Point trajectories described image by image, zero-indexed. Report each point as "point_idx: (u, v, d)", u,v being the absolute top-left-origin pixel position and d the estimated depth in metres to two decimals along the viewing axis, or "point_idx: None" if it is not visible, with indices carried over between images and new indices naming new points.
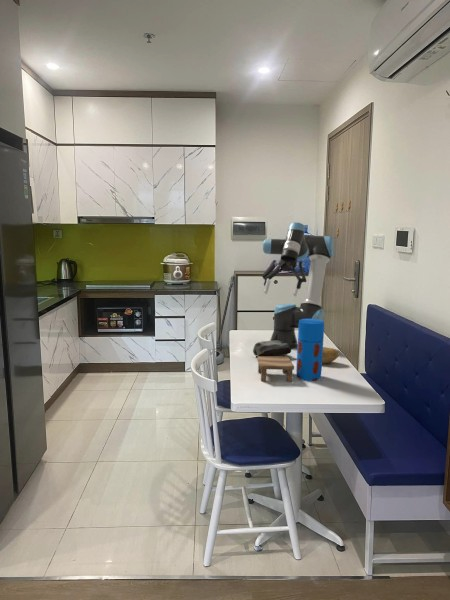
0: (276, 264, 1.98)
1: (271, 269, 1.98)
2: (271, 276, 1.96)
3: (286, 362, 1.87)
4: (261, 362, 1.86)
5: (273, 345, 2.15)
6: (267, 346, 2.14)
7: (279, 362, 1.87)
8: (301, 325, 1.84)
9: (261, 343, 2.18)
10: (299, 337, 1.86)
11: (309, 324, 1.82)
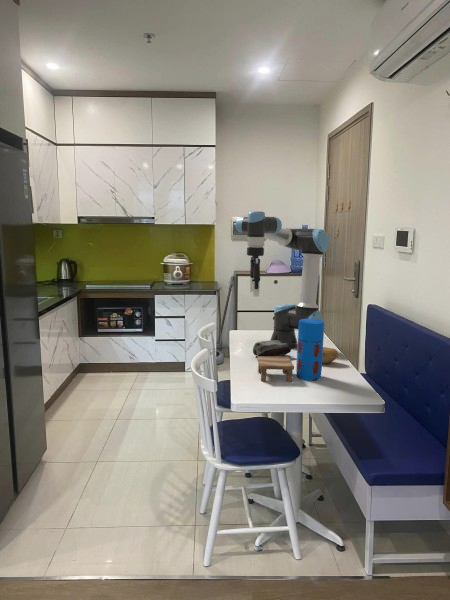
0: None
1: None
2: (253, 274, 2.01)
3: (286, 362, 1.87)
4: (261, 362, 1.86)
5: (273, 345, 2.16)
6: (267, 346, 2.14)
7: (279, 362, 1.87)
8: (301, 325, 1.84)
9: (261, 343, 2.18)
10: (299, 337, 1.86)
11: (309, 324, 1.82)
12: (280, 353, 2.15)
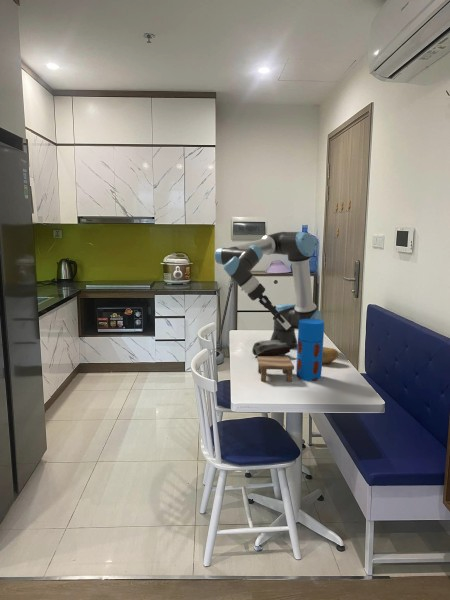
0: None
1: None
2: None
3: (286, 362, 1.87)
4: (261, 362, 1.86)
5: (272, 345, 2.16)
6: (266, 346, 2.15)
7: (279, 362, 1.87)
8: (301, 325, 1.84)
9: (260, 343, 2.18)
10: (299, 337, 1.86)
11: (309, 324, 1.82)
12: (280, 353, 2.16)
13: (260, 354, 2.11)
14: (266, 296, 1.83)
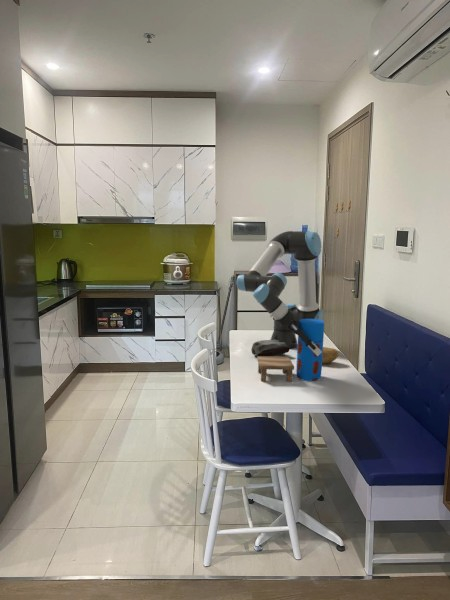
0: None
1: None
2: None
3: (286, 362, 1.87)
4: (261, 362, 1.86)
5: (271, 344, 2.17)
6: (265, 345, 2.15)
7: (279, 362, 1.87)
8: (301, 325, 1.84)
9: (259, 342, 2.19)
10: (299, 337, 1.86)
11: (309, 324, 1.82)
12: (279, 352, 2.16)
13: (259, 354, 2.12)
14: (296, 322, 1.85)
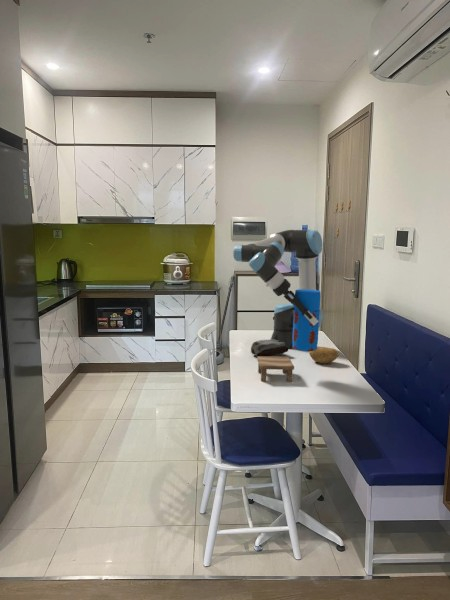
0: None
1: None
2: None
3: (286, 362, 1.87)
4: (261, 362, 1.86)
5: (271, 344, 2.17)
6: (265, 345, 2.16)
7: (279, 362, 1.87)
8: (297, 294, 1.82)
9: (259, 342, 2.20)
10: (295, 307, 1.84)
11: (305, 293, 1.80)
12: (278, 352, 2.17)
13: (259, 353, 2.13)
14: None
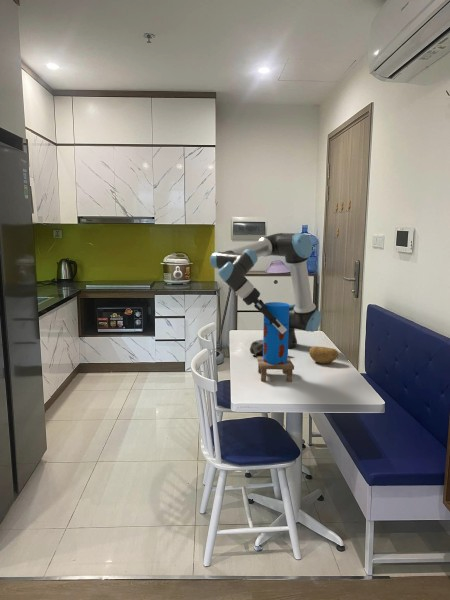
0: None
1: None
2: None
3: (286, 362, 1.87)
4: (261, 362, 1.86)
5: None
6: None
7: None
8: None
9: (258, 342, 2.20)
10: (264, 321, 1.84)
11: (273, 307, 1.80)
12: None
13: (258, 353, 2.13)
14: (261, 300, 1.83)
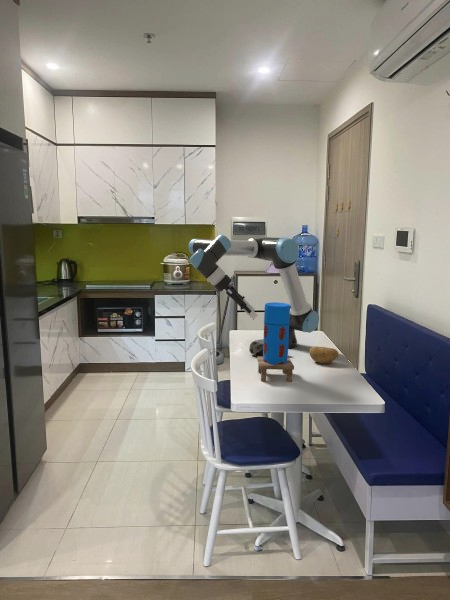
0: None
1: None
2: None
3: None
4: (261, 362, 1.86)
5: None
6: None
7: None
8: (266, 308, 1.83)
9: (257, 341, 2.21)
10: (265, 320, 1.85)
11: (274, 307, 1.80)
12: None
13: (258, 353, 2.14)
14: (232, 287, 1.84)
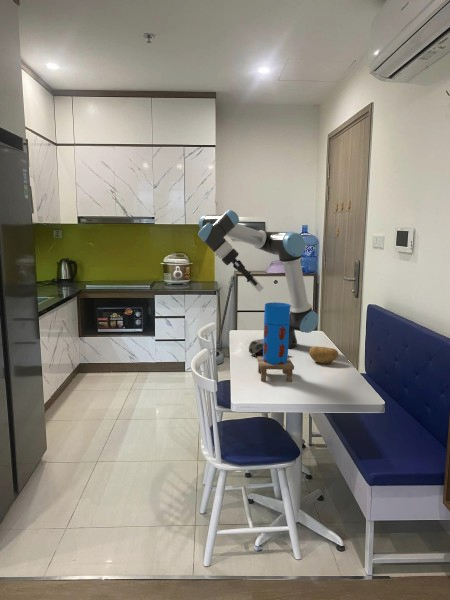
0: None
1: None
2: None
3: None
4: (261, 362, 1.86)
5: None
6: None
7: None
8: (266, 308, 1.83)
9: (256, 341, 2.21)
10: (265, 320, 1.85)
11: (274, 307, 1.80)
12: None
13: (257, 352, 2.14)
14: (239, 260, 1.90)
